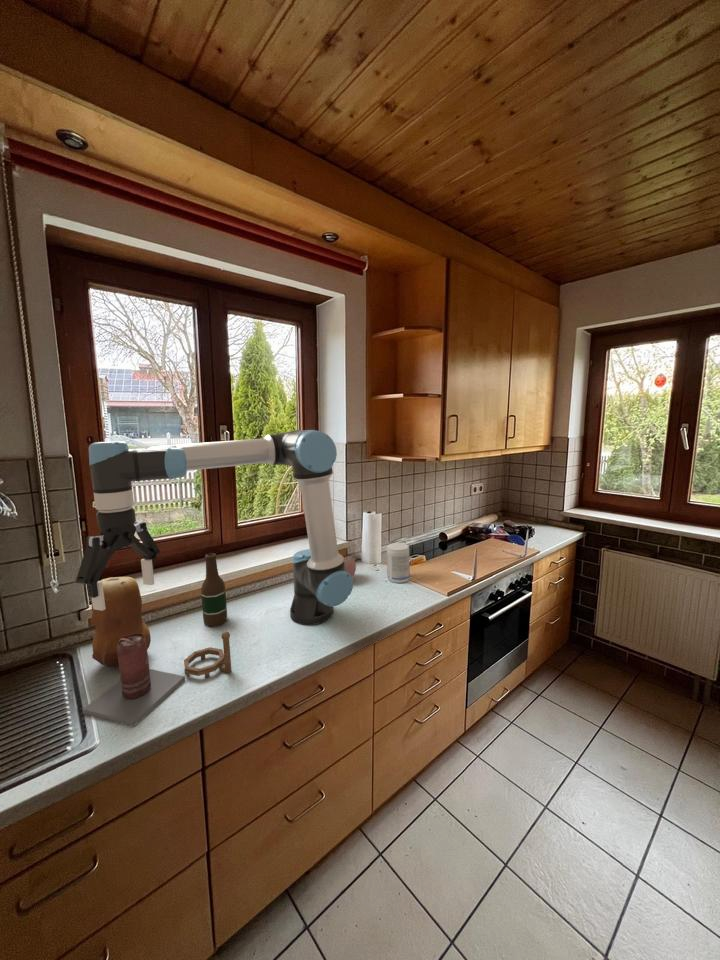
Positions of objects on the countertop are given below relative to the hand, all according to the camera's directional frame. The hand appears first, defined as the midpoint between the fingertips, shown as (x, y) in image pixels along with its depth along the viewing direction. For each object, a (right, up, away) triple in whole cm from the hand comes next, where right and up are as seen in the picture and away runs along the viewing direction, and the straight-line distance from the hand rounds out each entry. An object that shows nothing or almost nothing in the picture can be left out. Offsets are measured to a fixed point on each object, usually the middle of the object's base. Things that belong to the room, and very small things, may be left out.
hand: (125, 595), depth 90 cm
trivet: (0, -26, +4) cm, 26 cm away
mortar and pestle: (+48, -15, +71) cm, 88 cm away
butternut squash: (-11, -25, +18) cm, 32 cm away
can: (0, -25, +4) cm, 25 cm away
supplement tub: (+72, -15, +72) cm, 103 cm away
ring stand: (+15, -24, +14) cm, 32 cm away
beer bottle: (+7, -21, +39) cm, 45 cm away
